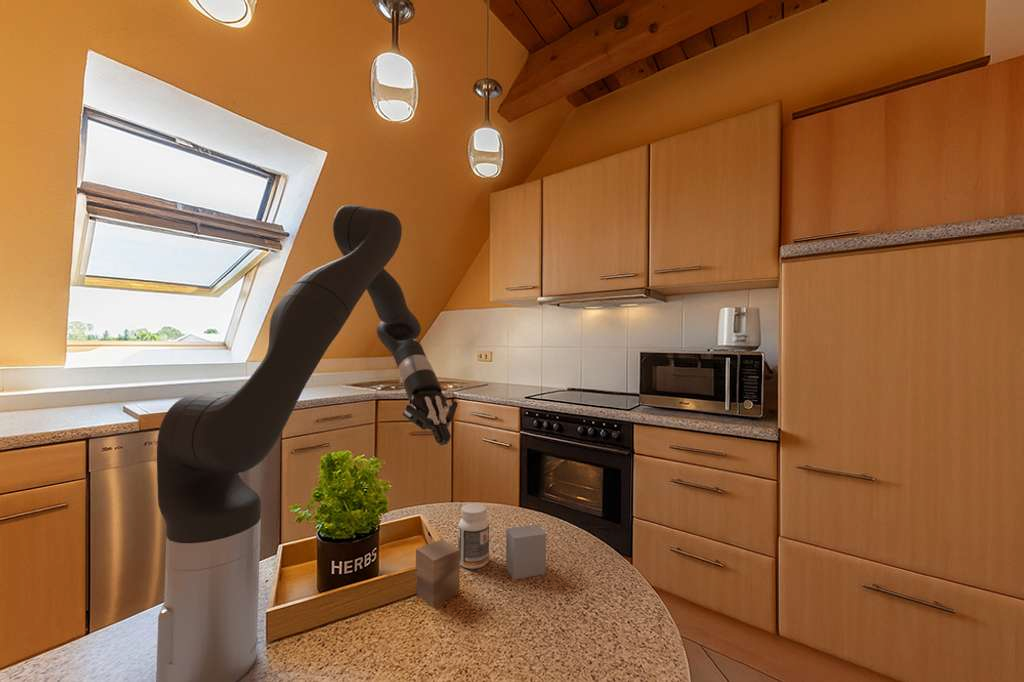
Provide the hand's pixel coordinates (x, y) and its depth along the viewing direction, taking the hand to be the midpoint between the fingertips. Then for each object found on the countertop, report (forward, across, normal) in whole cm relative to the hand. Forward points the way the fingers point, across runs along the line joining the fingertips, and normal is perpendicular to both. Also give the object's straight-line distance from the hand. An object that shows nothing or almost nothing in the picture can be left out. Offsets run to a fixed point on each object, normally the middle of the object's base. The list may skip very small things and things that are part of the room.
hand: (445, 442), depth 83 cm
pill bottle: (+22, 0, +7) cm, 23 cm away
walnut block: (+25, -10, +3) cm, 27 cm away
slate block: (+28, +6, +1) cm, 28 cm away
